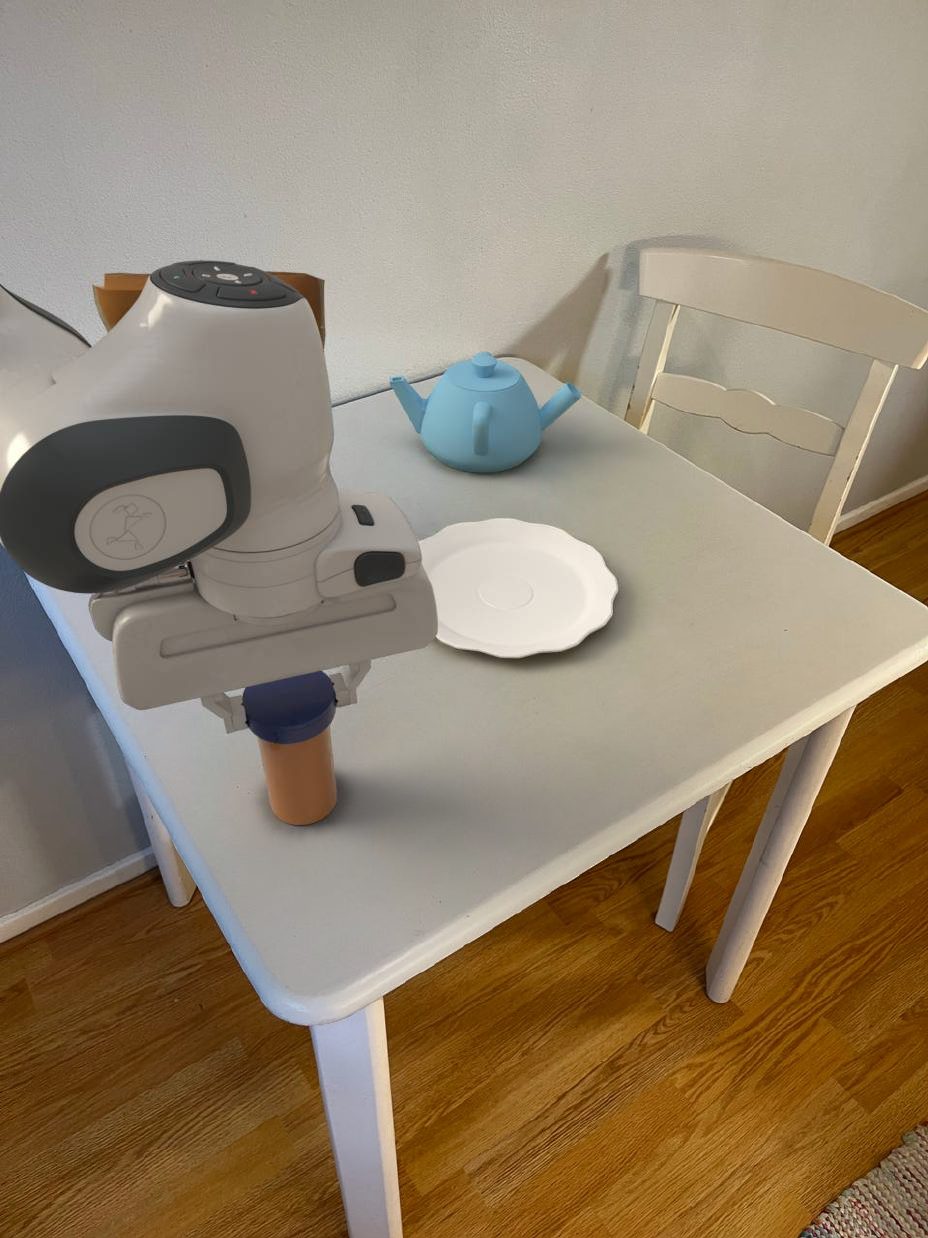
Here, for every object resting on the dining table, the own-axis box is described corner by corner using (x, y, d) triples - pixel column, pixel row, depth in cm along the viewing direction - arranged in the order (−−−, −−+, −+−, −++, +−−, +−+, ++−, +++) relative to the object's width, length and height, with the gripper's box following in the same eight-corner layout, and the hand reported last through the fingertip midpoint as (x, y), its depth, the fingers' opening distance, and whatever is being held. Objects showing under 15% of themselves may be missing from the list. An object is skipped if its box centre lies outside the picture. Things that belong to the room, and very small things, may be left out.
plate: (628, 551, 92) (630, 538, 91) (595, 689, 77) (597, 675, 76) (434, 516, 96) (434, 503, 95) (366, 641, 81) (365, 627, 80)
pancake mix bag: (338, 567, 89) (314, 285, 71) (151, 551, 90) (81, 270, 72) (351, 528, 94) (332, 256, 76) (175, 514, 95) (114, 242, 77)
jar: (280, 834, 65) (262, 736, 58) (262, 785, 68) (243, 686, 62) (346, 812, 66) (336, 713, 60) (325, 764, 70) (313, 667, 63)
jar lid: (320, 751, 59) (318, 734, 58) (231, 738, 59) (227, 721, 58) (346, 686, 63) (345, 669, 62) (263, 675, 64) (260, 658, 63)
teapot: (496, 501, 99) (501, 407, 92) (386, 446, 107) (383, 357, 100) (579, 450, 108) (590, 362, 100) (472, 404, 116) (474, 319, 109)
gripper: (81, 617, 47) (137, 784, 56) (447, 547, 53) (445, 709, 62) (78, 550, 52) (130, 715, 61) (415, 492, 57) (418, 651, 66)
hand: (291, 711), depth 62 cm, fingers closed on jar lid, 6 cm apart
